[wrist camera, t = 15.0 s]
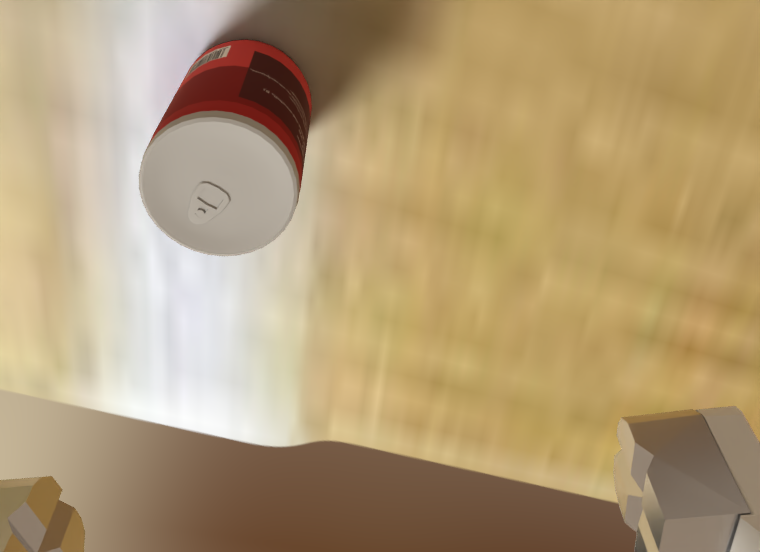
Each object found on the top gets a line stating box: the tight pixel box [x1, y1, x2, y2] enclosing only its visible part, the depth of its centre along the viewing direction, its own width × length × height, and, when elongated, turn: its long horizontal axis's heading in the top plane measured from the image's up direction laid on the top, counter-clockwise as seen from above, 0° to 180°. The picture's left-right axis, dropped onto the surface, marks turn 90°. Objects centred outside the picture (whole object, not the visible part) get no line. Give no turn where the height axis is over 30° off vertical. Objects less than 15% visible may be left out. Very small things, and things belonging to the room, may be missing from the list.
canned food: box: [139, 40, 312, 256], centre depth 38 cm, size 8×8×11 cm
